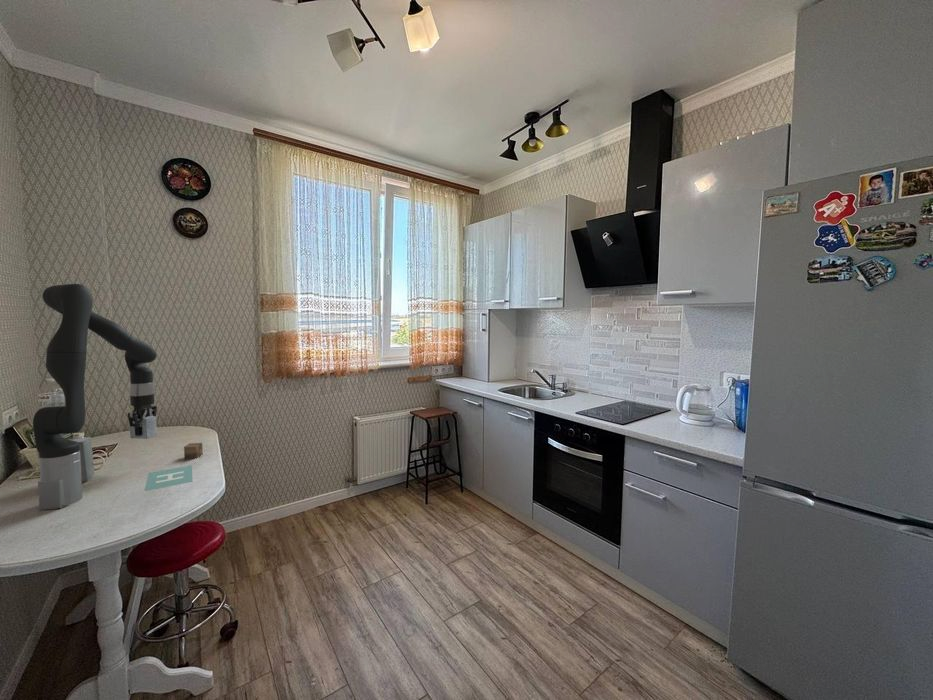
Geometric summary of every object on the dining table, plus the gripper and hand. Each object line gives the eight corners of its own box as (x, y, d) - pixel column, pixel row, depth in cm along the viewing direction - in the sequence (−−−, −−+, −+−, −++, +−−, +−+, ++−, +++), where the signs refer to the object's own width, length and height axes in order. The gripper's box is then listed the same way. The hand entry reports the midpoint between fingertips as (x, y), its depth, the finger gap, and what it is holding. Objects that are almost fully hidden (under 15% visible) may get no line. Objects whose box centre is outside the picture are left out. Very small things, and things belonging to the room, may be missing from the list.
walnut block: (196, 459, 164) (196, 446, 164) (184, 459, 163) (184, 446, 163) (202, 455, 169) (202, 442, 169) (190, 455, 168) (190, 443, 168)
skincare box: (87, 482, 139) (85, 441, 138) (61, 485, 136) (58, 444, 135) (95, 473, 147) (93, 435, 146) (70, 477, 143) (68, 438, 142)
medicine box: (157, 436, 154) (156, 416, 153) (147, 439, 149) (146, 418, 149) (140, 435, 155) (139, 415, 154) (129, 438, 150) (129, 418, 150)
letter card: (192, 482, 141) (192, 481, 141) (144, 492, 132) (144, 491, 132) (191, 465, 157) (191, 465, 157) (149, 473, 148) (149, 472, 148)
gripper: (144, 390, 157) (145, 429, 158) (118, 396, 143) (120, 439, 144) (163, 390, 159) (164, 428, 160) (140, 396, 145) (141, 438, 146)
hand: (143, 433), depth 152 cm, fingers closed on medicine box, 5 cm apart
